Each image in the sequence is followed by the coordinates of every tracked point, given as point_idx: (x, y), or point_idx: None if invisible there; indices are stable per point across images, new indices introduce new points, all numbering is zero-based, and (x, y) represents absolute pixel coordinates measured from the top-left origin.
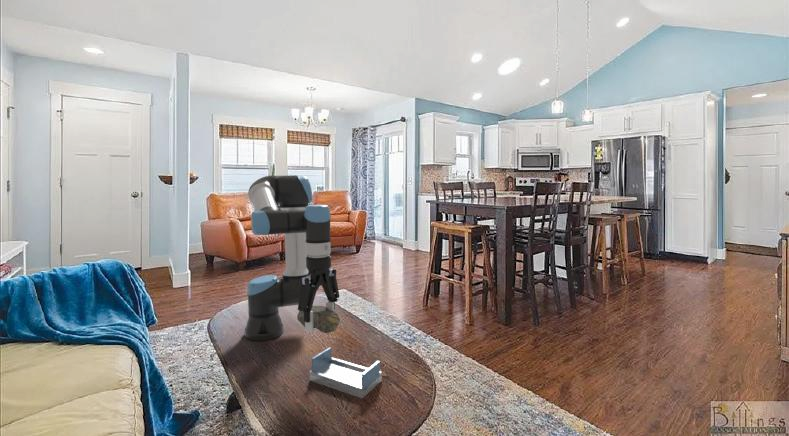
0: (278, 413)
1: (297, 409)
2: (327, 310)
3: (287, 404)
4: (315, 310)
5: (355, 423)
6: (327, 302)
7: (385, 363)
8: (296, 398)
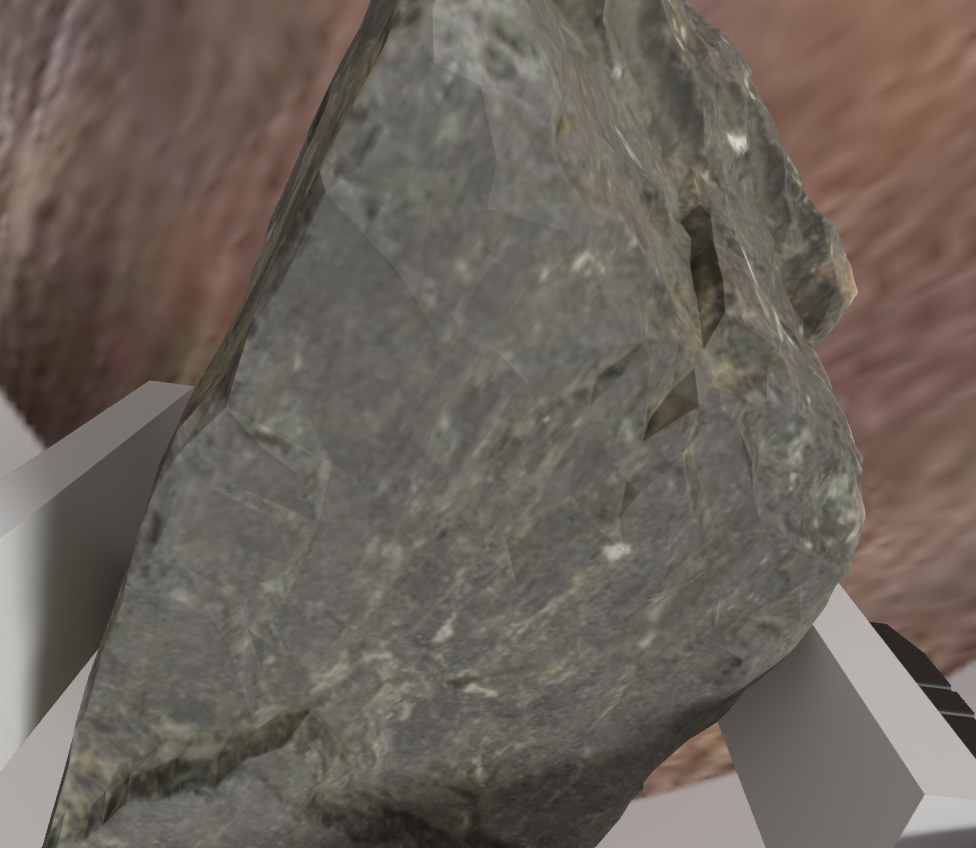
0: (51, 249)
1: (149, 332)
2: (555, 798)
3: (147, 240)
4: (257, 698)
5: None
6: (888, 820)
7: None
8: (227, 252)
